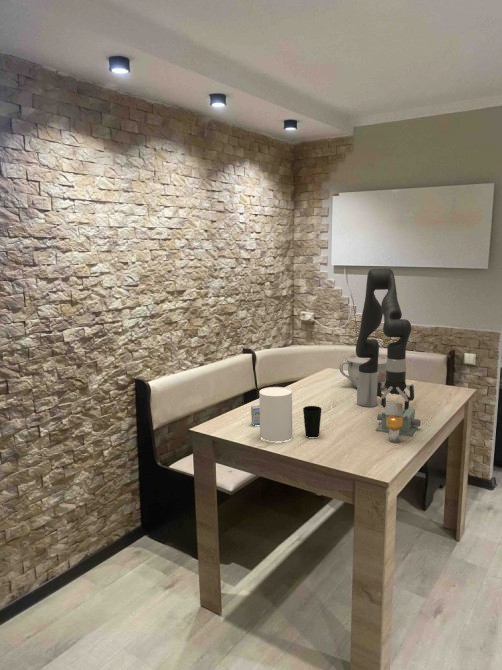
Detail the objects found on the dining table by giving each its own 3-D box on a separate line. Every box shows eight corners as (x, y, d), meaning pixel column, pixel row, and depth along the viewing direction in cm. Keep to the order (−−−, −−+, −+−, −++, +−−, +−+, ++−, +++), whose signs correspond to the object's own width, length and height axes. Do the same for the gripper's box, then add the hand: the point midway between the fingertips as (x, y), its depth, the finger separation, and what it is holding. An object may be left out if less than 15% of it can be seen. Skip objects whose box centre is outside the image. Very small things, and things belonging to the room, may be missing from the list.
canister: (286, 445, 200) (286, 397, 197) (255, 441, 205) (254, 394, 202) (296, 433, 213) (296, 388, 209) (266, 430, 218) (265, 385, 214)
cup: (309, 431, 215) (309, 404, 213) (324, 435, 210) (324, 407, 208) (299, 436, 209) (299, 409, 207) (315, 440, 205) (315, 412, 202)
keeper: (385, 417, 211) (385, 401, 208) (386, 415, 212) (385, 400, 209) (402, 419, 208) (402, 404, 205) (403, 418, 209) (402, 402, 206)
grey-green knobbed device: (372, 430, 214) (372, 412, 213) (382, 417, 230) (383, 401, 229) (415, 437, 206) (416, 418, 205) (423, 423, 221) (424, 406, 220)
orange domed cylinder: (384, 442, 201) (385, 418, 199) (388, 437, 206) (388, 414, 205) (400, 444, 198) (400, 420, 197) (403, 439, 204) (404, 416, 202)
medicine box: (253, 427, 222) (253, 408, 220) (251, 424, 226) (250, 405, 224) (270, 425, 224) (270, 406, 222) (267, 422, 228) (267, 403, 227)
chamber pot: (400, 384, 286) (401, 348, 283) (387, 396, 263) (388, 358, 260) (353, 378, 301) (353, 345, 297) (337, 390, 277) (337, 353, 274)
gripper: (375, 369, 198) (374, 408, 200) (412, 372, 191) (411, 413, 193) (380, 365, 204) (379, 403, 207) (416, 368, 197) (415, 408, 200)
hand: (395, 408), depth 200 cm, fingers open, 8 cm apart
